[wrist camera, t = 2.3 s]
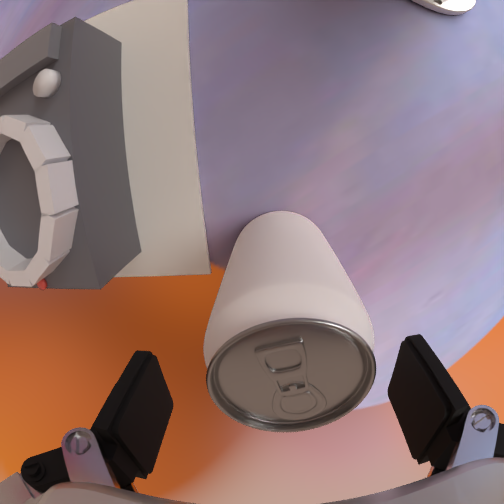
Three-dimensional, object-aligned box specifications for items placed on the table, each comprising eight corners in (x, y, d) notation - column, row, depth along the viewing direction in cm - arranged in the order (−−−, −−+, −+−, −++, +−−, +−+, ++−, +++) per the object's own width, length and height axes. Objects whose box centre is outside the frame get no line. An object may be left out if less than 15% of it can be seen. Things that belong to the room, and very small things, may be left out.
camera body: (30, 86, 15) (-36, 82, 7) (121, 42, 14) (55, 6, 6) (51, 257, 20) (-9, 298, 13) (141, 251, 19) (82, 307, 12)
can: (250, 304, 21) (233, 445, 10) (221, 224, 19) (158, 332, 8) (334, 282, 20) (386, 414, 9) (314, 197, 18) (384, 277, 7)
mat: (30, 54, 14) (27, 54, 13) (187, -13, 12) (186, -15, 12) (53, 276, 21) (50, 278, 21) (211, 271, 20) (210, 274, 20)
